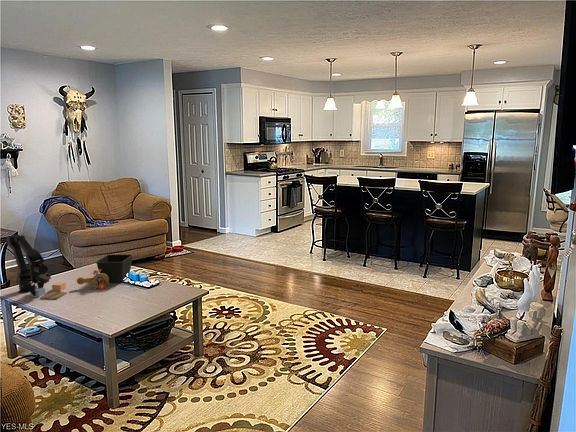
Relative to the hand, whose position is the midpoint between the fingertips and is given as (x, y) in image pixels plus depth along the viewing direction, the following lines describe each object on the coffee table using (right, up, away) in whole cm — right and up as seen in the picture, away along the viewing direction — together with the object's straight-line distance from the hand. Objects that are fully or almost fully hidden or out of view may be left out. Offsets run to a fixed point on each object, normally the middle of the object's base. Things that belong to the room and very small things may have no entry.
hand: (37, 294), depth 283 cm
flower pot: (+39, +4, +31) cm, 50 cm away
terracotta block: (+8, +1, +11) cm, 14 cm away
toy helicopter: (+32, +1, +14) cm, 34 cm away
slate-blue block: (0, -1, 0) cm, 1 cm away
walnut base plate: (+11, -1, -1) cm, 11 cm away
